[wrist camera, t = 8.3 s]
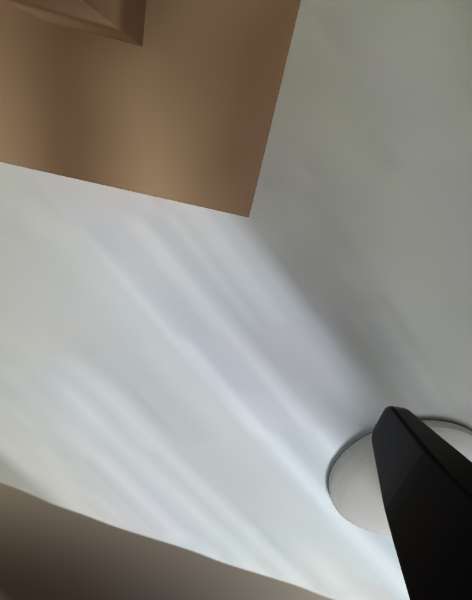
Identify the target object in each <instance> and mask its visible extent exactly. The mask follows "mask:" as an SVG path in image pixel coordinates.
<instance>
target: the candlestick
mask: <svg viewBox="0 0 472 600" xmlns="http://www.w3.org/2000/svg"><path fill="white" fill-rule="evenodd" d="M421 421H422V422H424V423H425V424H426V425H427V426H428V427H430V428H431V429H432V430H433V431H435V432H436V433H437V434H438V435H439V436H441V437H442V438H443V439H444V440H446V441H447V442H448V443H449V444H450V445H452V446H453V447H454V448H455V449H456V450H458V451H459V452H460V453H461V454H463V455H464V456H465V457H466V458H467V459H469V460H470V461H471V462H472V431H471V430H469V429H467V428H465V427H463V426H460V425H457V424H454V423H449V422H444V421H435V420H421ZM371 437H372V433H370V434H368V435H366V436H364V437H362V438H361V439H359V440H358V441H356V442H355V443H353V444H352V445H351V446H350V447H348V448H347V449H346V450H345V451H344V452H343V453H342V454H341V455H340V457H339V458H338V459H337V461H336V462H335V464H334V466H333V467H332V470H331V472H330V476H329V483H328V485H329V492H330V496H331V500H332V502H333V505H334V506H335V508H336V510H337V511H338V512H339V513H340V514H341V515H342V516H343V517H344V518H345V519H346V520H348V521H349V522H351V523H352V524H354V525H356V526H358V527H360V528H363V529H365V530H367V531H371V532H374V533H377V534H382V535H388V536H392V535H391V532H390V528H389V525H388V521H387V517H386V513H385V509H384V505H383V500H382V495H381V490H380V484H379V479H378V474H377V468H376V463H375V457H374V452H373V447H372V438H371Z"/></svg>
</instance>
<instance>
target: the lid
mask: <svg viewBox="0 0 472 600" xmlns="http://www.w3.org/2000/svg"><path fill="white" fill-rule="evenodd" d="M300 1H301V0H0V162H3V163H8V164H12V165H17V166H21V167H26V168H30V169H35V170H39V171H44V172H48V173H53V174H57V175H62V176H66V177H70V178H75V179H79V180H84V181H88V182H93V183H97V184H102V185H106V186H111V187H115V188H120V189H124V190H129V191H133V192H138V193H142V194H147V195H151V196H155V197H160V198H164V199H169V200H173V201H178V202H182V203H187V204H191V205H196V206H200V207H205V208H209V209H214V210H218V211H223V212H227V213H232V214H236V215H240V216H245V217H249V214H250V210H251V206H252V202H253V198H254V193H255V189H256V185H257V181H258V177H259V172H260V168H261V164H262V160H263V156H264V152H265V147H266V143H267V139H268V135H269V131H270V126H271V122H272V118H273V114H274V110H275V105H276V101H277V97H278V93H279V89H280V84H281V80H282V76H283V72H284V68H285V64H286V59H287V55H288V51H289V47H290V43H291V38H292V34H293V30H294V26H295V22H296V17H297V13H298V9H299V5H300Z"/></svg>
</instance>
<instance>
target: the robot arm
mask: <svg viewBox="0 0 472 600" xmlns="http://www.w3.org/2000/svg"><path fill="white" fill-rule="evenodd" d="M371 438H372V447H373V452H374V457H375V463H376V468H377V474H378V479H379V484H380V490H381V495H382V500H383V505H384V509H385V513H386V517H387V521H388V525H389V528H390V532H391V535H392V538H393V542H394V545H395V549H396V552H397V556H398V559H399V563H400V566H401V570H402V573H403V577H404V580H405V584H406V587H407V591H408V594H409V598H410V600H472V462H471V461H470V460H469V459H467V458H466V457H465V456H464V455H463V454H461V453H460V452H459V451H458V450H456V449H455V448H454V447H453V446H452V445H450V444H449V443H448V442H447V441H446V440H444V439H443V438H442V437H441V436H439V435H438V434H437V433H436V432H435V431H433V430H432V429H431V428H430V427H428V426H427V425H426V424H425V423H424V422H422V421H421V420H420V419H419V418H417V417H416V416H415V415H414V414H413V413H411V412H410V411H409V410H407V409H405V408H400V407H395V406H388V407H387V408H385V410H384V411H383V413H382V415H381V417H380V418H379V420H378V422H377V424H376V426H375V428H374V429H373V432H372V437H371Z"/></svg>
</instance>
